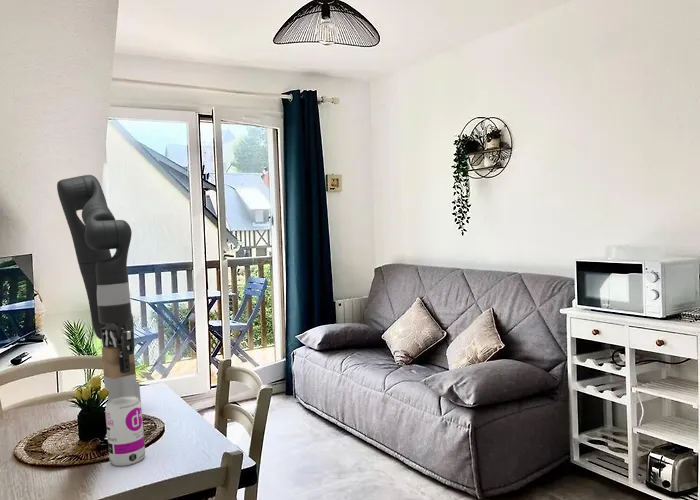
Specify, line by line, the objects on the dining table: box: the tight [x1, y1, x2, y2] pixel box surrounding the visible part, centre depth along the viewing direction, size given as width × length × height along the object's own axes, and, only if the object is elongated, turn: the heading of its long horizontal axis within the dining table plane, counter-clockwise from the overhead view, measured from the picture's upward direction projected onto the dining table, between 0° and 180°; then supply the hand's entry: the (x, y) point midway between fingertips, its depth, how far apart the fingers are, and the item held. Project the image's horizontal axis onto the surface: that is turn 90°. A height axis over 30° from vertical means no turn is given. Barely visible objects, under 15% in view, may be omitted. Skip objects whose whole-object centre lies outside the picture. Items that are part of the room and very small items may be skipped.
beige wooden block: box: [101, 346, 137, 379], centre depth 146 cm, size 6×6×7 cm
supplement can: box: [104, 396, 146, 467], centre depth 147 cm, size 8×8×15 cm
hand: (119, 370), depth 146 cm, fingers closed on beige wooden block, 5 cm apart
